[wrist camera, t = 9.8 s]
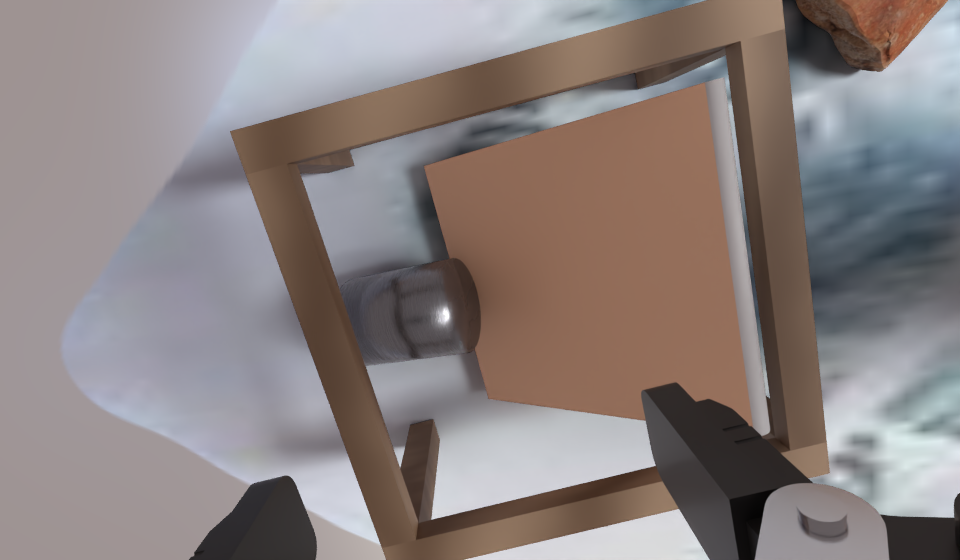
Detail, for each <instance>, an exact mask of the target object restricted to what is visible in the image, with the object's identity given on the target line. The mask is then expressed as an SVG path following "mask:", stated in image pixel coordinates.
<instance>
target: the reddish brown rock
mask: <svg viewBox="0 0 960 560" xmlns="http://www.w3.org/2000/svg"><path fill="white" fill-rule="evenodd" d="M947 1H948V0H796V3H797V5H798V8H799V10H800V11H801V12H802V14H803V15H804V16H805V17H806V18H807V19H809V20H810V21H811V22H812V23H814V24H815V25H816V26H818V27H819V28H821V29H824V30H826V31H827V32H828V33H829V34H831V36H832V38H833V41H834V44H835V46H836V48H837V49H838V50H839V52H840V53H841V55H842V57H843V58H844V60H845V61H846V63H847V64H848V65H850V66H851V67H855V68H859V69H861V70H867V71H877V72H880V71H883V70H884V69H885V68H887V67H888V65H889V64H890V63H891V62H892V61H893V60H894V59H895V58H896V57H897V56H898V55H899V54H900V53H901V52H902V51H903V50H904V49H905V48H906V47H907V46H908V44H909V43H910V42H911V41H912V40H913V39H914V38H915V37H916V36H917V35H918V34H919V32H920V31H921V30H922V29H923V28H924V27H925V25H926V24H927V23H928V22H929V21H930V20H931V19H932V18H933V17H934V15H935V14H936V13H937V12H938V11H939V10H940V9H941V8H942V7H943V6H944V4H945V3H946V2H947Z"/></svg>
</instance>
